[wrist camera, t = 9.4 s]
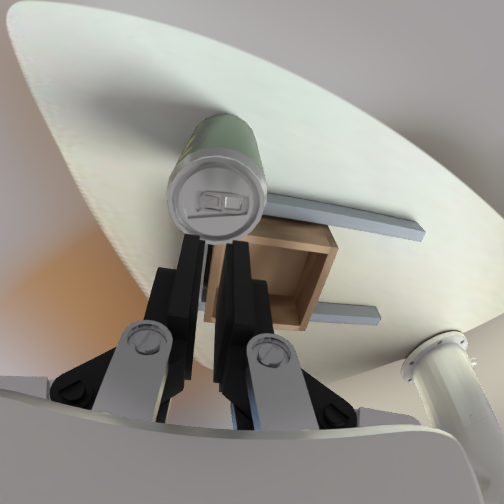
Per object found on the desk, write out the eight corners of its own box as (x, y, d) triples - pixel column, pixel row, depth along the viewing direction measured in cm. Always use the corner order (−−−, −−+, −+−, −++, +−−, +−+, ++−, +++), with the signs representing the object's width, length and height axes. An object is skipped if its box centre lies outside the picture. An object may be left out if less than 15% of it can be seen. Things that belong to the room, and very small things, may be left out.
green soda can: (259, 115, 25) (276, 157, 15) (252, 175, 28) (262, 251, 18) (193, 110, 24) (163, 149, 14) (190, 171, 27) (164, 245, 17)
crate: (324, 219, 30) (338, 248, 26) (297, 298, 36) (304, 331, 32) (219, 203, 29) (216, 230, 25) (206, 287, 34) (203, 321, 30)
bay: (417, 222, 31) (425, 232, 30) (372, 313, 38) (377, 325, 37) (205, 183, 28) (203, 192, 26) (192, 296, 35) (190, 308, 34)
